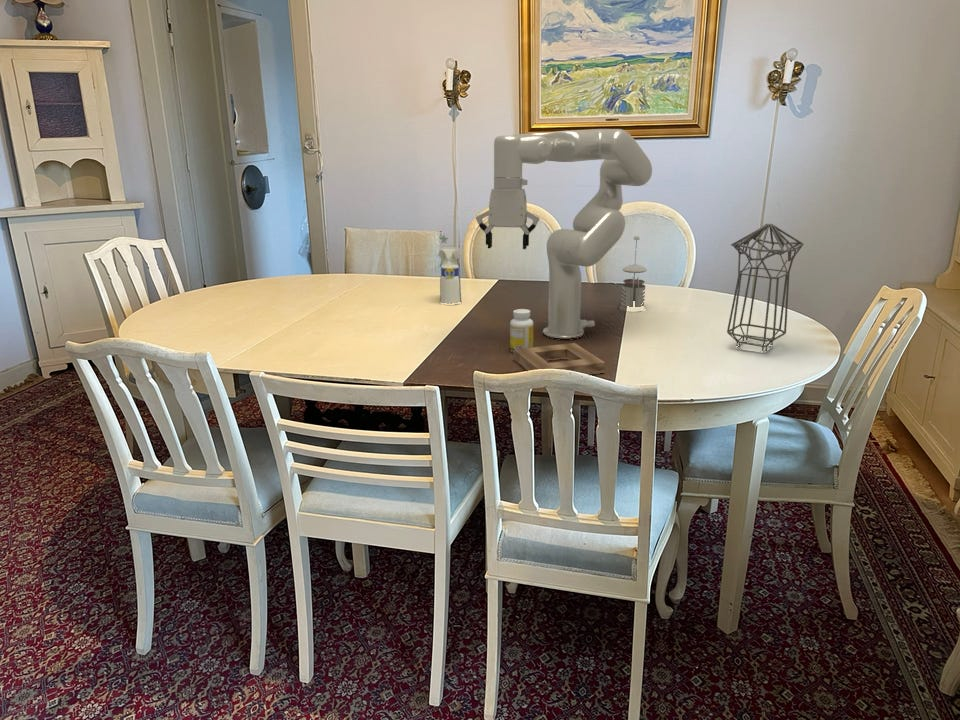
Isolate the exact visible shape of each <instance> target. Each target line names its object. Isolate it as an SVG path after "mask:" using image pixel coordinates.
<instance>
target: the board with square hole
mask: <svg viewBox="0 0 960 720" xmlns="http://www.w3.org/2000/svg"><path fill="white" fill-rule="evenodd" d="M561 357H568V358H570V359H571V361H568V360H562V361H555V362H554V361H553V362H549V361H548V362H547V361H545V360H547V359H554V358H561ZM514 359H515V360H516V361H517V362H519V363H520V364H521V365H522V366H523V367H524V368H526V370H532V369H543V368H558V369H567V370H573V371H578V372H583V373H587V374H589V373H588V372H595V371H601V370H605V367H606V362H605V361H604V360H602V359H600V358H599V357H598V356H596V355H595V354H593V353H591V352H589V351H588V350H586V349H585V348H583V347H581V346H580V345H579V344H577V343H576V342H570V343H562V344H553V345H542V346H533V347H532V348H523V349H514V352H513V360H514ZM516 361H515V362H516ZM517 362H516V363H517ZM522 366H521V367H522ZM523 367H522V368H523ZM524 368H523V369H524ZM526 370H525V371H526Z"/></svg>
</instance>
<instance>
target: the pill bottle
mask: <svg viewBox="0 0 960 720" xmlns="http://www.w3.org/2000/svg"><path fill="white" fill-rule="evenodd" d="M512 313H513V317H514V318H512V319H511V320H510V323H509V325H510V326H509V332H510V333H509V338H510V339H509V346H510V347H509V348H510V349H511V350H510V349H509V350H510V351H511V352H512V351H513V352H512V353H514V349H523V348H532V347H534V321H533V319H531V318H530V317H531V310H530V309H526V308H518V309H514V310H513V312H512Z"/></svg>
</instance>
